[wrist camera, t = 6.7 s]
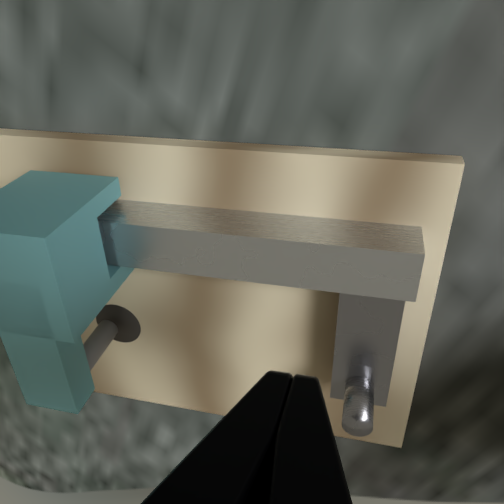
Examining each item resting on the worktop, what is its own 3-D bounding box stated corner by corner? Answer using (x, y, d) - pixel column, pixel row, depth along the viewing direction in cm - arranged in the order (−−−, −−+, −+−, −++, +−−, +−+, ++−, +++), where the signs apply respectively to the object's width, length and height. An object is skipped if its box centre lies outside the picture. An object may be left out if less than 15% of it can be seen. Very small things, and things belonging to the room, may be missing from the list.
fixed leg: (405, 270, 19) (408, 332, 16) (385, 379, 22) (385, 448, 19) (343, 263, 19) (334, 322, 16) (333, 371, 23) (324, 437, 19)
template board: (461, 156, 17) (464, 164, 16) (401, 434, 25) (401, 448, 24) (-5, 128, 21) (-18, 134, 20) (70, 376, 29) (63, 386, 28)
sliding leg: (118, 177, 19) (45, 238, 15) (147, 341, 24) (97, 422, 20) (30, 170, 20) (-62, 226, 16) (74, 329, 25) (12, 405, 21)
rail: (421, 226, 18) (425, 254, 16) (413, 271, 19) (415, 302, 17) (20, 190, 21) (-11, 210, 20) (31, 229, 22) (3, 252, 21)
